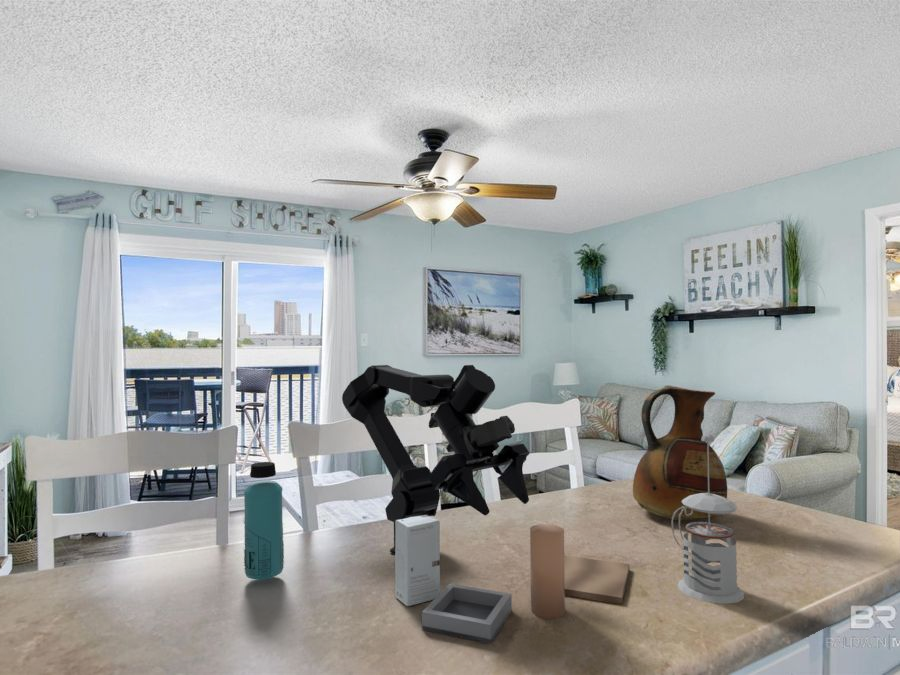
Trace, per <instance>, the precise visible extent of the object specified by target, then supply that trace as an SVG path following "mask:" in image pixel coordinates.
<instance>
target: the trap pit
mask: <svg viewBox="0 0 900 675" xmlns="http://www.w3.org/2000/svg"><path fill="white" fill-rule="evenodd" d="M512 598H513V597H512V593H509V592H503V591H497V590H493V589H492V590H491V589H485V588H480V587H474V586H473V587H472V586H467V585H461V584H454V583H448V584H447V585H446V586H445V587H444V589H443V590H442V591H440V594H439V595H438V596H437V597H436V598H435V599H433V600H431V602H430V603H429V604H427V606H426V607H425V608H424V609H423V610H422V611H421V621H422V622H421V626H422V627H421V628H422V629H421V630H422V631H425V632H429V633H436V634H441V635H446V636H450V637H456V638H461V639H465V640H469V641H475V642H479V643H484V644H490V645H491V644H492V642H493V641H494V639H495V638H496V636H497V635H498V633H499V632H500V630H501V628H502V627H503V625H504V623H505V622H506V620H507V619H508V618H509V616H510V614H511V612H512V610H513V608H512V607H513V606H512V605H513V603H512V601H513V600H512Z"/></svg>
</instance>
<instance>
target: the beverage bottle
mask: <svg viewBox="0 0 900 675" xmlns="http://www.w3.org/2000/svg"><path fill="white" fill-rule="evenodd" d="M275 464H276V463H274V462H272V461H261V462H254V463H252V464H251V465H250V472H249V477H250V478H252V479H266V478H272V477H274V476H276V474H277V472H276V465H275ZM243 495H244V497H243V498H244V516H243V515H242V516H243V521H242V522H243V524H244V541H243V542H244V543H243V544H244V548H243V554H244V558H243V559H244V561H243V570H244V573H245V576H246V578H248V579H252V580H266V579H267V580H268V579H271V578H274V577H277V576H278V575H280V574H281V573H283V570H284V563H285V556H284V554H285V549H284V548H285V544H284V523H283V487H282V486H281V484H280V483H278V482H277V481H275V480H270V479H269V480H258V481H254V482H252V483H250V484H249V485H247V486H246V488H245V489H244V491H243Z"/></svg>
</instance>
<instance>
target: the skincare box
mask: <svg viewBox="0 0 900 675" xmlns="http://www.w3.org/2000/svg"><path fill="white" fill-rule="evenodd" d="M440 526H441V525H440V520H439V519H437V518H435V517H434V516H428V515H422V516H416V517H409V518H405V519H400V520H396V521H395V553H394V554H395V555H394V556H395V557H394V559H395V560H394V562H395V563H394V564H395V567H394V568H395V569H394V570H395V571H394V572H395V574H394V576H395V581H394V582H395V589H394V590H395V597H396V598H397V600H398V601H400V602H401V603H402V604H403V605H405V606H406V607H410V606H414V605H418V604H423V603H425V602H430V601H433V600H434V599H435V598H436V597H437V596H438V595H439V594H440V593H441V563H440V562H441V560H440V559H441V558H440V557H441V556H440V555H441V552H440V550H441V549H440V548H441V540H440V537H441V535H440V534H441V532H440V528H441V527H440Z"/></svg>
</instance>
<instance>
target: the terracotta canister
mask: <svg viewBox="0 0 900 675" xmlns="http://www.w3.org/2000/svg"><path fill="white" fill-rule="evenodd" d="M529 542H530V543H529V544H530V545H529V548H530V549H529V550H530V551H529V553H530V555H529V556H530V562H529V563H530V566H529V567H530V569H529V570H530V612H531V613H532V614H533V615H535V616H536V617H538V618H541V619H547V620H549V619H550V620H551V619H552V620H554V619H559V618H561V617H563V616H564V615H565V613H566V595H565V570H564V555H565V529H564V528H563V527H561V526H558V525H555V524H548V523H545V524H544V523H543V524H541V523H540V524H535V525H532V526H530V527H529Z"/></svg>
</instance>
